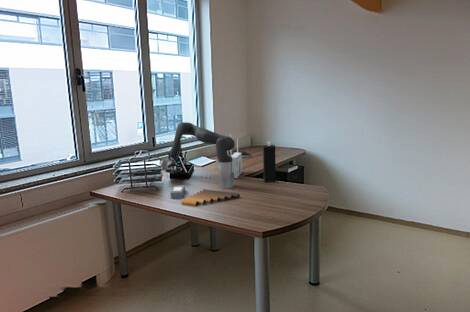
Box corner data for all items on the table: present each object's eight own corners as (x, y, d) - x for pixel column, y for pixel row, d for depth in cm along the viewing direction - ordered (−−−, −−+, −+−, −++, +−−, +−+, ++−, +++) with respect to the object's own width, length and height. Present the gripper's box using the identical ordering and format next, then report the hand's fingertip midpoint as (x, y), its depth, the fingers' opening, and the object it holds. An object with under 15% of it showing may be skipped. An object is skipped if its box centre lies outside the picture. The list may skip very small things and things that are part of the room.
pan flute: (240, 198, 215) (205, 193, 228) (239, 192, 215) (205, 188, 227) (218, 210, 194) (181, 205, 206) (218, 204, 193) (180, 199, 206)
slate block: (174, 185, 233) (170, 192, 218) (184, 184, 233) (182, 191, 218) (174, 191, 234) (170, 199, 218) (185, 191, 234) (182, 198, 219)
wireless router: (252, 158, 333) (251, 137, 329) (228, 160, 328) (227, 138, 324) (243, 152, 365) (242, 133, 362) (221, 154, 360) (220, 134, 357)
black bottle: (263, 179, 254) (262, 140, 249) (274, 179, 255) (273, 140, 249) (264, 182, 247) (263, 142, 242) (276, 181, 247) (275, 141, 242)
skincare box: (237, 178, 259) (236, 157, 256) (229, 178, 260) (228, 157, 258) (242, 172, 280) (241, 152, 277) (235, 172, 281) (234, 152, 278)
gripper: (162, 162, 257) (164, 167, 241) (181, 161, 261) (183, 166, 244) (163, 173, 259) (164, 178, 242) (181, 171, 262) (184, 176, 245)
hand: (174, 172), depth 243 cm, fingers closed
